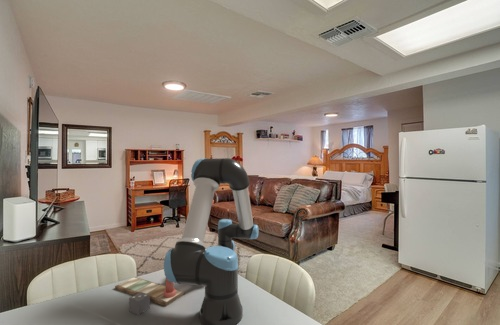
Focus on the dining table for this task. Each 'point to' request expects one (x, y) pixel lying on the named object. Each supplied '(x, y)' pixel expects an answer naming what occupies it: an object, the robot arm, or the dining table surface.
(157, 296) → the board
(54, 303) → the dining table surface
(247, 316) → the dining table surface
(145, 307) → the die
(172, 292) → the pawn
